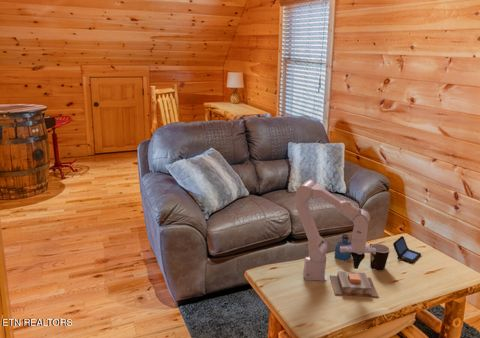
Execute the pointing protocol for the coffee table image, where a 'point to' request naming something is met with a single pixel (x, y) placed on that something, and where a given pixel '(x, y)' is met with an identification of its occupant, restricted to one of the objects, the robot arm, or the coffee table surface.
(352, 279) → the button
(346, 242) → the perfume bottle
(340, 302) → the coffee table surface
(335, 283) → the button board
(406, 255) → the handheld game console
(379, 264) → the coffee mug
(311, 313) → the coffee table surface
